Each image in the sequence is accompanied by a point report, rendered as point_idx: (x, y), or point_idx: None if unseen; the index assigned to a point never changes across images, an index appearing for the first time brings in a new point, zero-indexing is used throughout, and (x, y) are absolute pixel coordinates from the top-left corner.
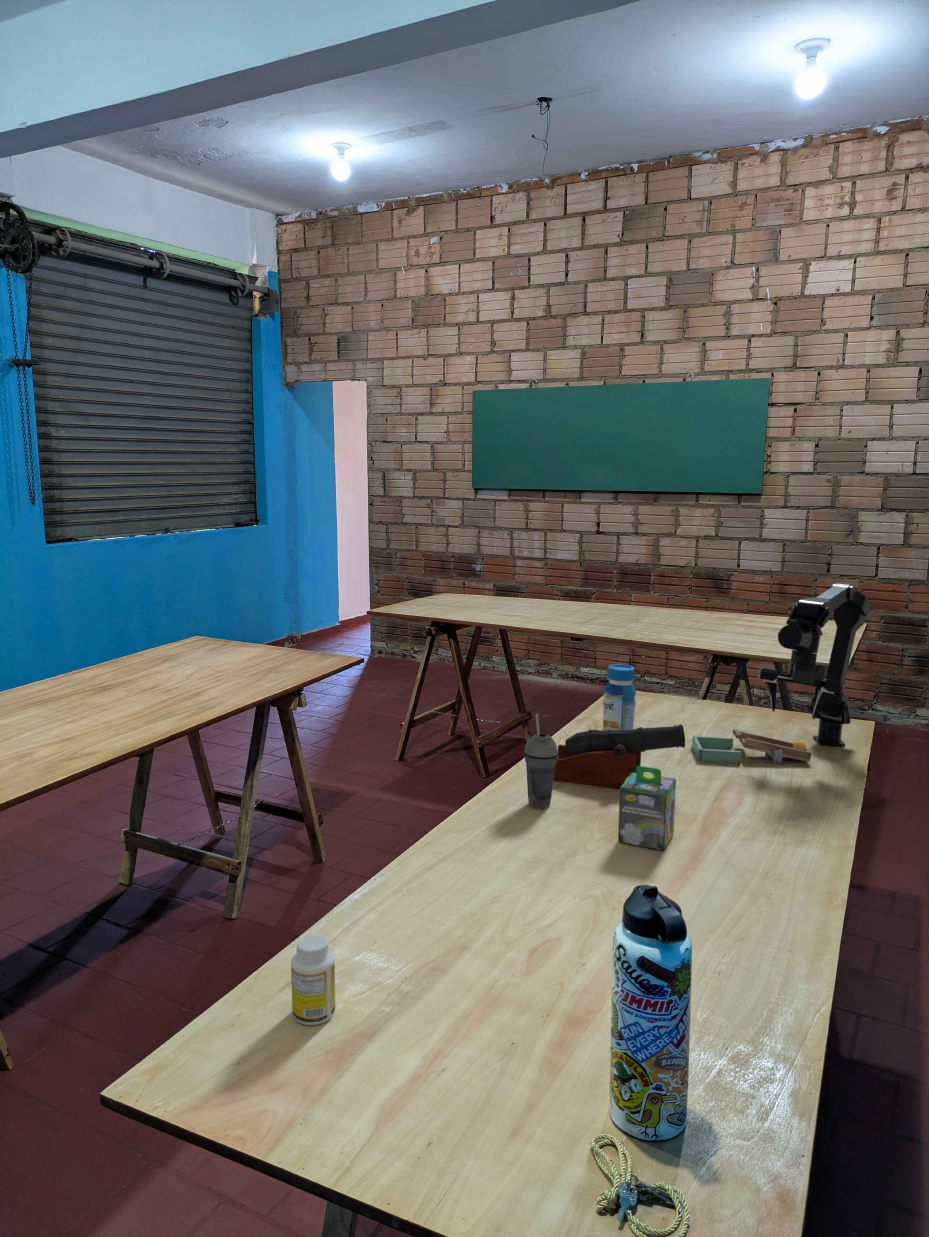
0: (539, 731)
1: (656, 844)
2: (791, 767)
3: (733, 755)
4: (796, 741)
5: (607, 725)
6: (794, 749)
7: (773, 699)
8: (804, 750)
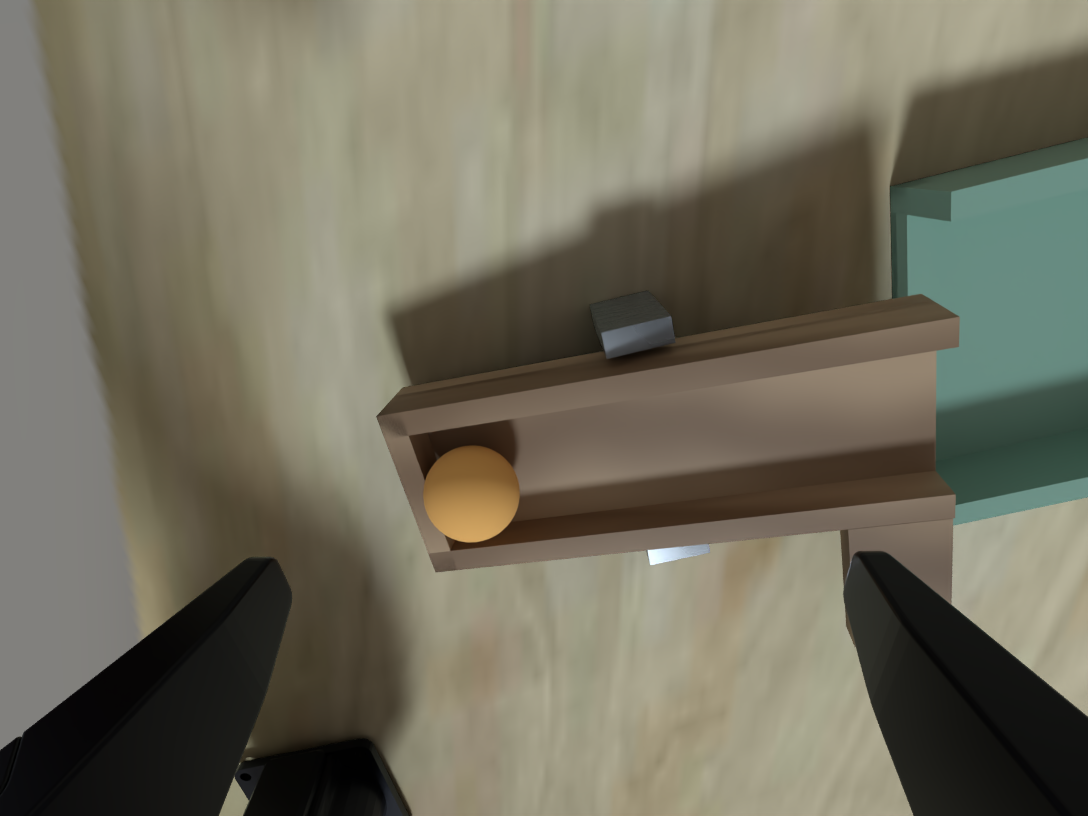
0: None
1: None
2: (520, 266)
3: (995, 172)
4: (493, 506)
5: None
6: (506, 393)
7: (1048, 726)
8: None
